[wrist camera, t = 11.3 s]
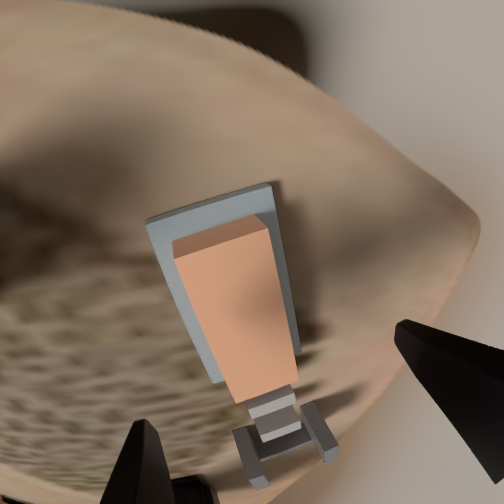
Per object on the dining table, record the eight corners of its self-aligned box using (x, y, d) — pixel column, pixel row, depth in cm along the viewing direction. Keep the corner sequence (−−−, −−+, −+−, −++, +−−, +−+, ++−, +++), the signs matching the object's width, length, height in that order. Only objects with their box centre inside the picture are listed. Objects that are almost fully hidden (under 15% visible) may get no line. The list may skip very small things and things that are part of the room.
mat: (211, 375, 19) (213, 384, 18) (145, 219, 14) (145, 225, 13) (296, 344, 20) (301, 352, 19) (265, 182, 15) (271, 186, 14)
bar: (228, 380, 18) (236, 403, 17) (171, 241, 14) (173, 259, 12) (287, 358, 19) (299, 379, 17) (253, 214, 14) (267, 228, 13)
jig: (242, 448, 24) (258, 492, 19) (206, 386, 19) (222, 446, 15) (315, 421, 25) (338, 461, 21) (306, 350, 20) (339, 401, 16)
